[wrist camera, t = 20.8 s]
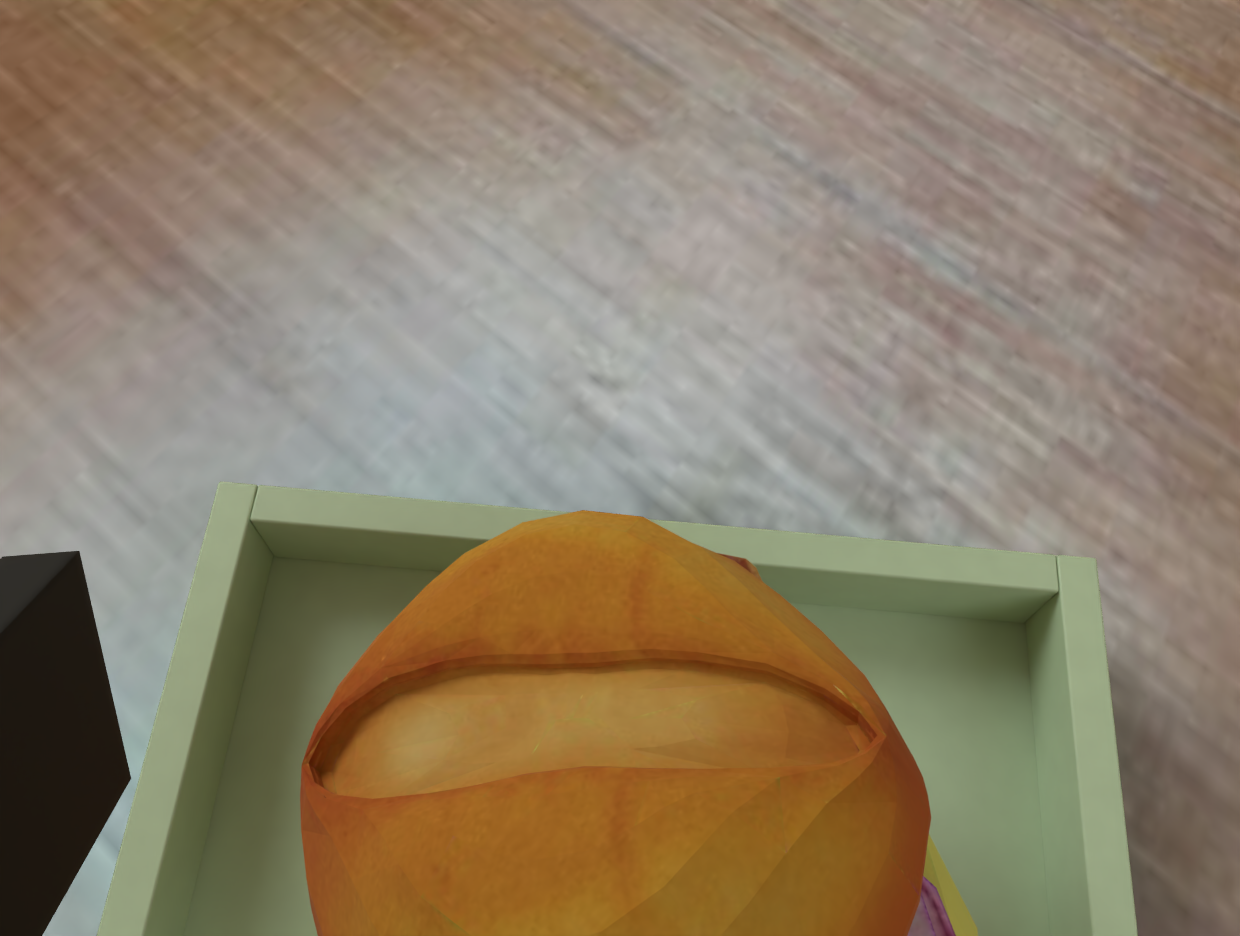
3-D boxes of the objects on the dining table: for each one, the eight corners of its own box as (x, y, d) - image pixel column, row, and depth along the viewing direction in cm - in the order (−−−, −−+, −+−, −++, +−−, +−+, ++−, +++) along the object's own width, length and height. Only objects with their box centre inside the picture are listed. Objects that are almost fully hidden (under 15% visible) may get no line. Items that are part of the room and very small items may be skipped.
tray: (1045, 604, 25) (1097, 557, 22) (1120, 1450, 18) (1204, 1518, 16) (255, 534, 25) (218, 480, 23) (55, 1344, 19) (-29, 1395, 16)
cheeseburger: (562, 1465, 17) (375, 1572, 9) (315, 877, 23) (76, 646, 16) (1059, 1073, 20) (1239, 900, 12) (717, 633, 26) (686, 326, 18)
